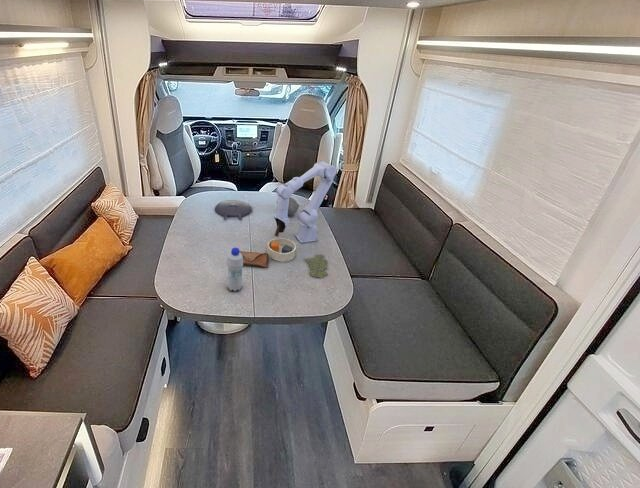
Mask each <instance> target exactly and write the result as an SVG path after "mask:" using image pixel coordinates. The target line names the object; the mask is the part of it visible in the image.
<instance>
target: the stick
mask: <svg viewBox="0 0 640 488" xmlns="http://www.w3.org/2000/svg"><path fill="white" fill-rule="evenodd" d="M279 235H280V232H279V224H278V226H277V225H276V229H275V233H274V236H275V238H279Z"/></svg>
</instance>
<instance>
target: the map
mask: <svg viewBox="0 0 640 488" xmlns="http://www.w3.org/2000/svg"><path fill="white" fill-rule="evenodd" d="M323 256H324V255H321V254H318V255H317V254H316V255H315V258H305V259H304V261H305V262H306V263H308V265H309V274H310V276H311V277H315V278H321V279H324V276H327V275H328V274H327V272H326V270H327V269H328V268H327V261H326V259H323ZM325 269H326V270H325Z"/></svg>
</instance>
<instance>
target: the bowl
mask: <svg viewBox="0 0 640 488" xmlns="http://www.w3.org/2000/svg"><path fill="white" fill-rule="evenodd" d="M272 242H279V252H276V251H273V250H272V249H271V243H272ZM285 245H287V246H290V247H292V252H289V253H282V248H283V247H284V246H285ZM266 246H267V247H266V253H267V254H268V258H270V259H271V260H273V261H276V262H280V263H287V262H290V261H293V259H294V258H295V257H296V254H297V253H296V251H297V245H296V243H295V242H294V241H292V240H291V239H288V238H284V237H275V238H271V239H270V240H269V241H267V245H266Z"/></svg>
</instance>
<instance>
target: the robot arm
mask: <svg viewBox="0 0 640 488" xmlns="http://www.w3.org/2000/svg"><path fill="white" fill-rule="evenodd" d="M336 174H337V169H336V166H335V165H332V164H330V163H327V162H326V161H324V160H318V161H317V162H316V163H314V164H313V166H312V168H309V170H307V171H306V172H305V173H304V174H302V175H301V176H295V177H294V176H293V177H292V179H291V180H289V181H287V182H285V183H284V184H280V185H278V186H277V188H276V189H275V193H276V195H277V199H278V201H277V200H276V208H274V214H275V215H273V217H274V220H275V223H276V227H277V226H278V224H279V234H281V233H284V232H285V230H286V228H287V227H289V226H290V220H289V215H288V206H289V198H292V196H293V194H294V193H295V192H296V191H298V190H299V189H301V188H302V187H304V183H306V182H308V181H310V180H311V179H313V178H316V177H319V178H320V182H319V184H318V185H317V188H316V189H315V191H314V193H313V195H312V197H311V199H310V200H309V203H308V204H307V205H306V206H303V207H302V209H301V210H300V211H299V212H298V214H297V219H298V220H299V222H298V223H299V224H298V233H297V234H295V237H296V238H297V240H298V241H299V242H300V243H301V244H303V243H311V242H317V235H318V225H317V220H318V218H319V214H318V209H319V208H320V206H321V204H322V202H323V201H324V198H325V197H326V195H327V193H328V191H329V189H330V188H331V186H332V184H333V182H334V179H335V176H336Z"/></svg>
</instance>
